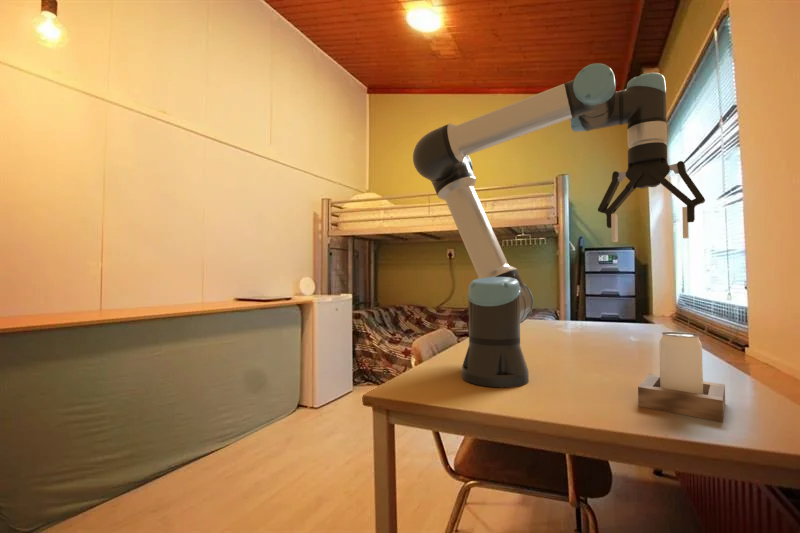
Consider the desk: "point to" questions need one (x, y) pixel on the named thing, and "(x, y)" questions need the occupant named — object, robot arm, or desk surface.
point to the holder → (683, 399)
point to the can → (681, 362)
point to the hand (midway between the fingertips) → (648, 240)
